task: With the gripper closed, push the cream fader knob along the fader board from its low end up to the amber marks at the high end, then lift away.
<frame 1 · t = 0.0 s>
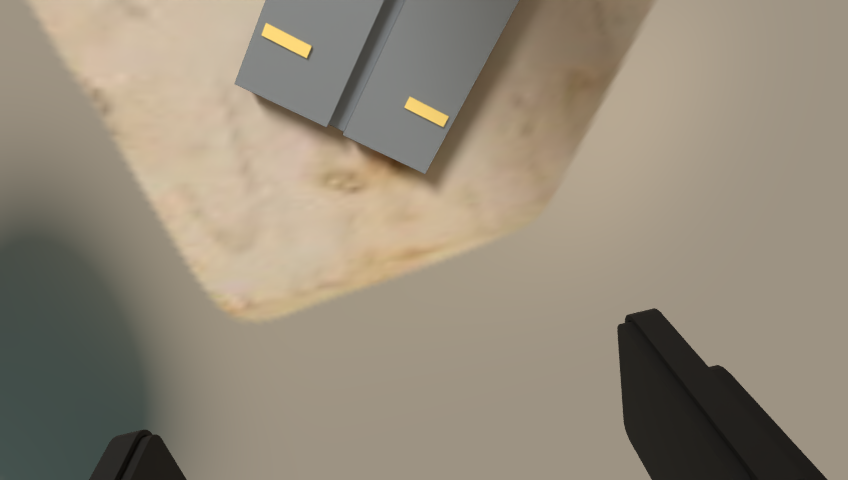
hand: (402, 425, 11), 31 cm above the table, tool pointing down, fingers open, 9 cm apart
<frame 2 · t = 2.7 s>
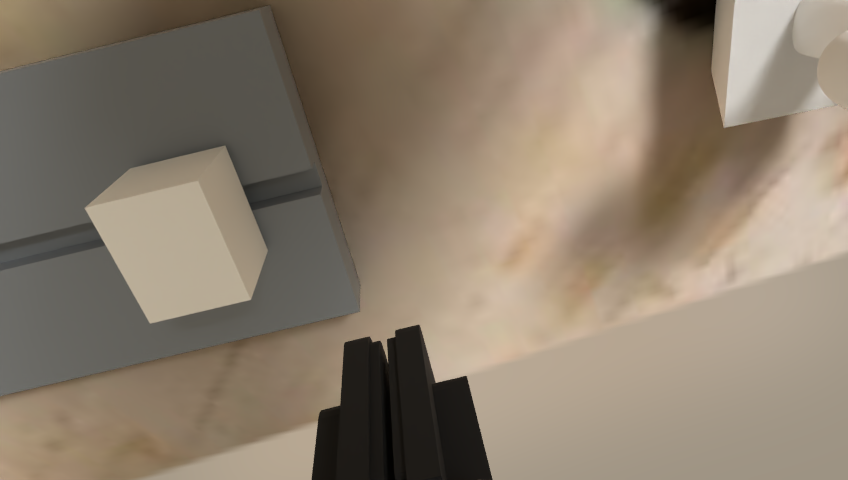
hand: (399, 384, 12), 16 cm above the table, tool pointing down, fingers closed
figurine: (759, 11, 24), on the table
fader knob: (192, 226, 22), point 4 cm above the table, slide at -8.0 cm
fader board: (55, 226, 26), on the table
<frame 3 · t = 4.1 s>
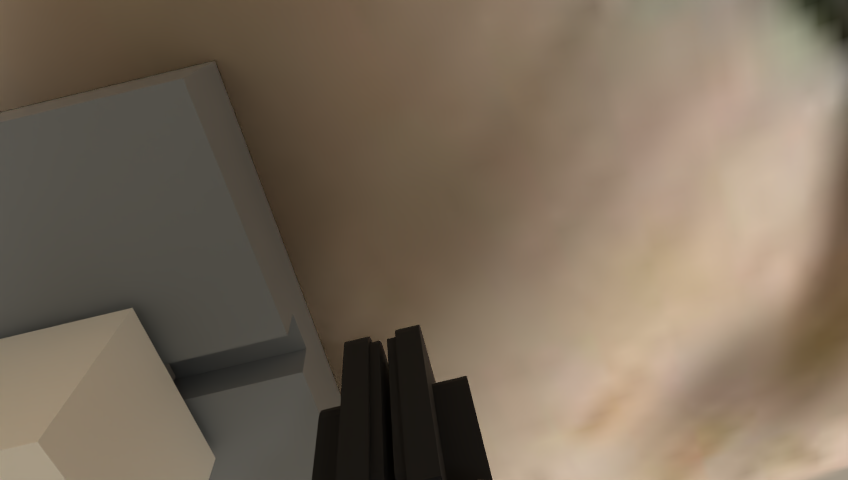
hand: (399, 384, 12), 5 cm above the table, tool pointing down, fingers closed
fader knob: (70, 454, 12), point 4 cm above the table, slide at -8.0 cm
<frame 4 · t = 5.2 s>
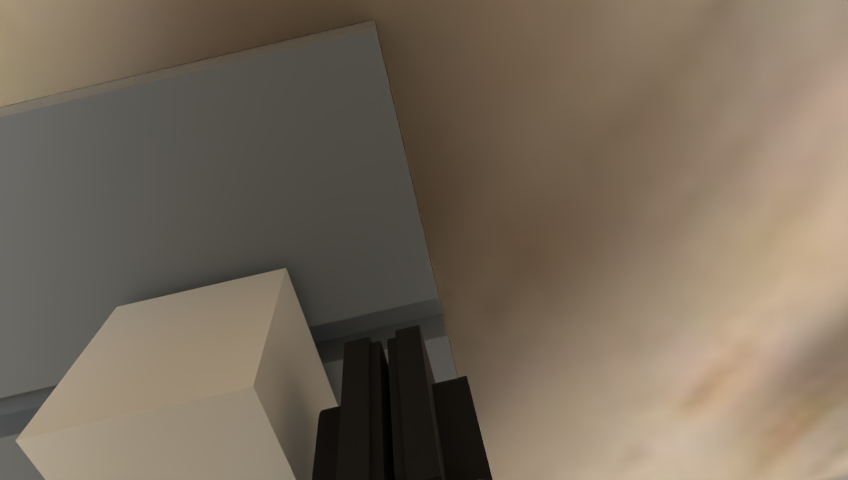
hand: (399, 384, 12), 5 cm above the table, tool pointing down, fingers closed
fader knob: (226, 413, 12), point 4 cm above the table, slide at -7.7 cm, touching gripper
fader board: (6, 367, 16), on the table
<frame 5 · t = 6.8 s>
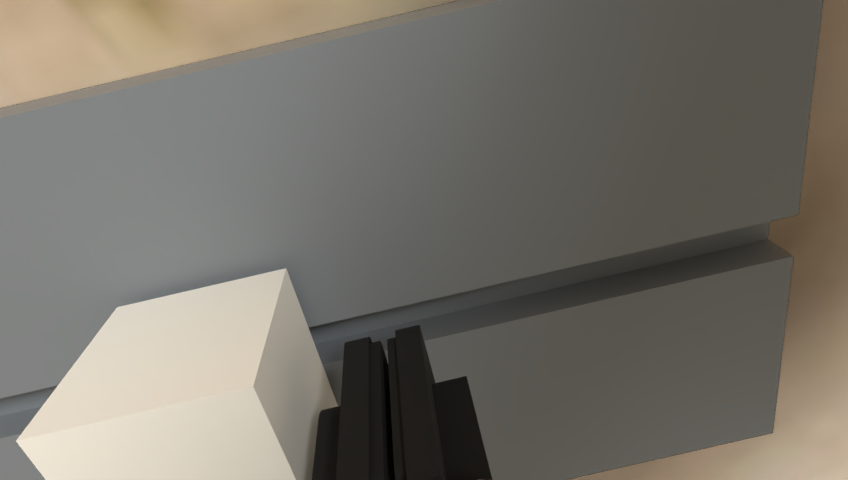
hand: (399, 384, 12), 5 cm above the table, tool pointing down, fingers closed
fader knob: (226, 414, 12), point 4 cm above the table, slide at 1.4 cm, touching gripper
fader board: (306, 298, 16), on the table
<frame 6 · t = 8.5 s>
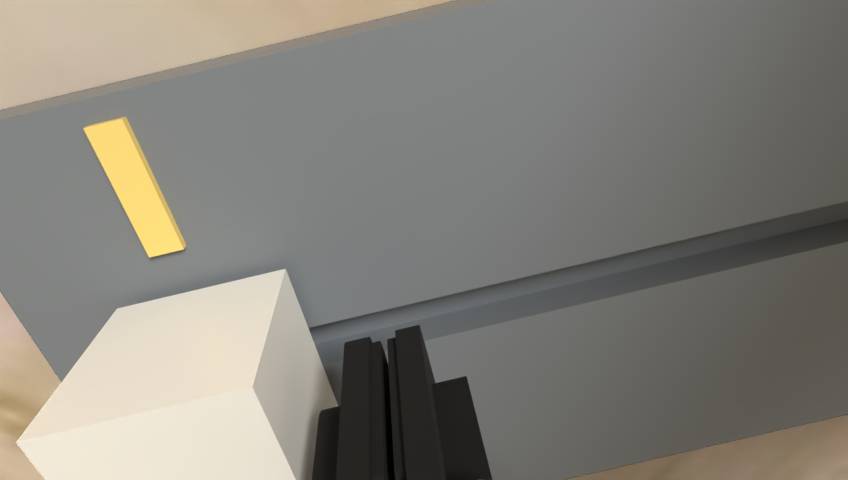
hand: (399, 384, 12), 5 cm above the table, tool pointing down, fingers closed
fader knob: (226, 414, 12), point 4 cm above the table, slide at 8.6 cm, touching gripper
fader board: (542, 243, 16), on the table
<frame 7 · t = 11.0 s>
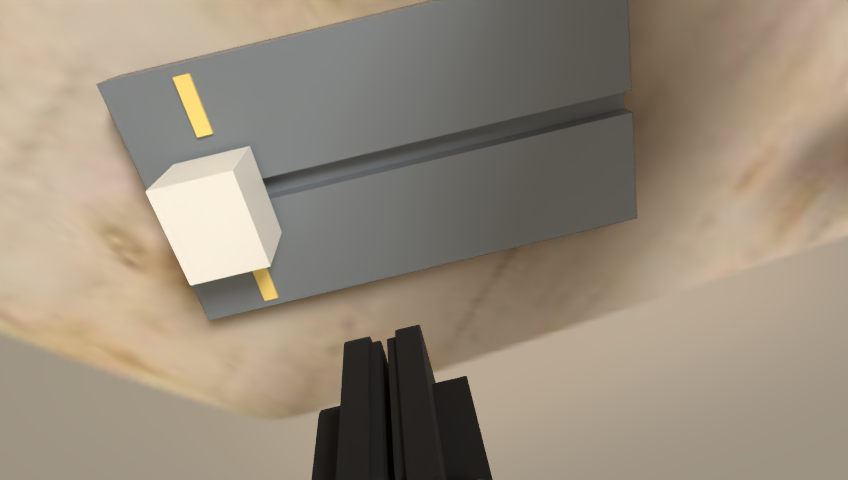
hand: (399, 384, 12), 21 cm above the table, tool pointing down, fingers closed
fader knob: (223, 210, 27), point 4 cm above the table, slide at 9.0 cm
fader board: (392, 145, 31), on the table
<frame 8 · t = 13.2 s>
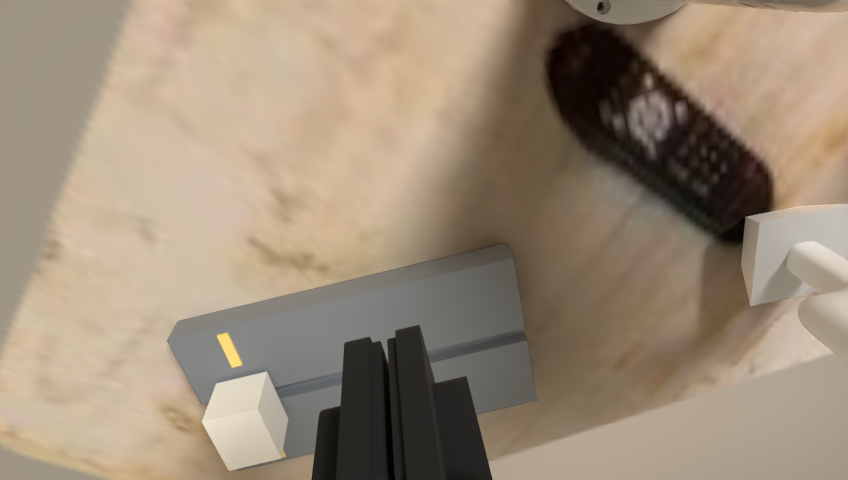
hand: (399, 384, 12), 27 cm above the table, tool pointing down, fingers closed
figurine: (767, 234, 44), on the table
fader knob: (249, 415, 41), point 4 cm above the table, slide at 9.0 cm
fader board: (365, 352, 45), on the table
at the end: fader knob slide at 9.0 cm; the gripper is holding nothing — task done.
